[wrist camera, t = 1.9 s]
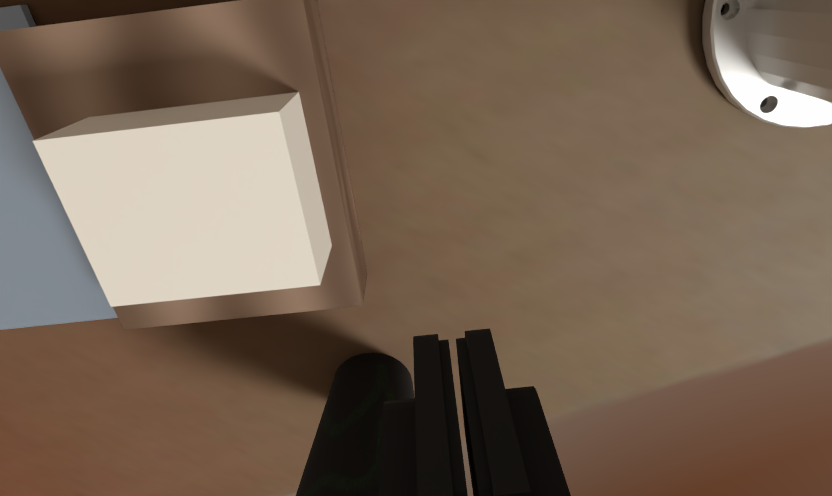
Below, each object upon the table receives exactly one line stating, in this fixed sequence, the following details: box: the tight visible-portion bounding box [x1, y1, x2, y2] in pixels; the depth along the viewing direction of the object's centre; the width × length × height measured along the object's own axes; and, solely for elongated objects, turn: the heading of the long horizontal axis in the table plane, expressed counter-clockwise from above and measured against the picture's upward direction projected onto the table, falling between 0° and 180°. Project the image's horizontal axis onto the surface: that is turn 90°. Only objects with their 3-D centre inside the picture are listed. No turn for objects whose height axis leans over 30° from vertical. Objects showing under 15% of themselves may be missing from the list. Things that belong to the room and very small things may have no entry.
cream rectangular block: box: [33, 92, 332, 307], centre depth 24 cm, size 10×8×4 cm
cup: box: [296, 353, 414, 496], centre depth 31 cm, size 8×8×12 cm
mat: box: [0, 5, 118, 330], centre depth 29 cm, size 11×18×1 cm, turn 7°
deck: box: [0, 0, 367, 330], centre depth 27 cm, size 14×16×4 cm
